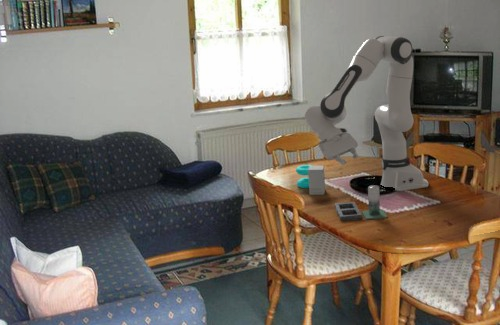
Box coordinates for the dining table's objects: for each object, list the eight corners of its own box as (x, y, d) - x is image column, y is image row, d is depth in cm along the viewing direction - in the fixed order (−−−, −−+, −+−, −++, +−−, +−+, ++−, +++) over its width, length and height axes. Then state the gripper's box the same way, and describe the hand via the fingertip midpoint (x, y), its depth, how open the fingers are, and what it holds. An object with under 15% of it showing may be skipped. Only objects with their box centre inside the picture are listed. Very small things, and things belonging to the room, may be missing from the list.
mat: (382, 210, 258) (382, 209, 258) (387, 217, 249) (387, 216, 249) (361, 212, 258) (361, 211, 258) (365, 219, 249) (365, 218, 249)
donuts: (291, 167, 300) (307, 163, 305) (293, 186, 303) (308, 181, 308) (303, 171, 292) (319, 166, 297) (305, 190, 295) (320, 185, 300)
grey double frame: (354, 205, 267) (354, 201, 266) (361, 219, 250) (361, 214, 250) (334, 207, 267) (334, 203, 266) (340, 221, 250) (340, 216, 250)
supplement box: (324, 194, 285) (323, 169, 282) (309, 195, 287) (307, 170, 284) (325, 189, 292) (324, 165, 289) (310, 190, 294) (309, 165, 291)
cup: (378, 211, 256) (377, 184, 252) (380, 215, 251) (380, 188, 248) (367, 212, 256) (367, 185, 253) (370, 216, 251) (369, 189, 248)
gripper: (320, 138, 253) (340, 162, 249) (347, 127, 267) (367, 150, 263) (312, 147, 257) (332, 171, 253) (340, 136, 271) (359, 159, 267)
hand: (350, 160), depth 258 cm, fingers open, 8 cm apart
